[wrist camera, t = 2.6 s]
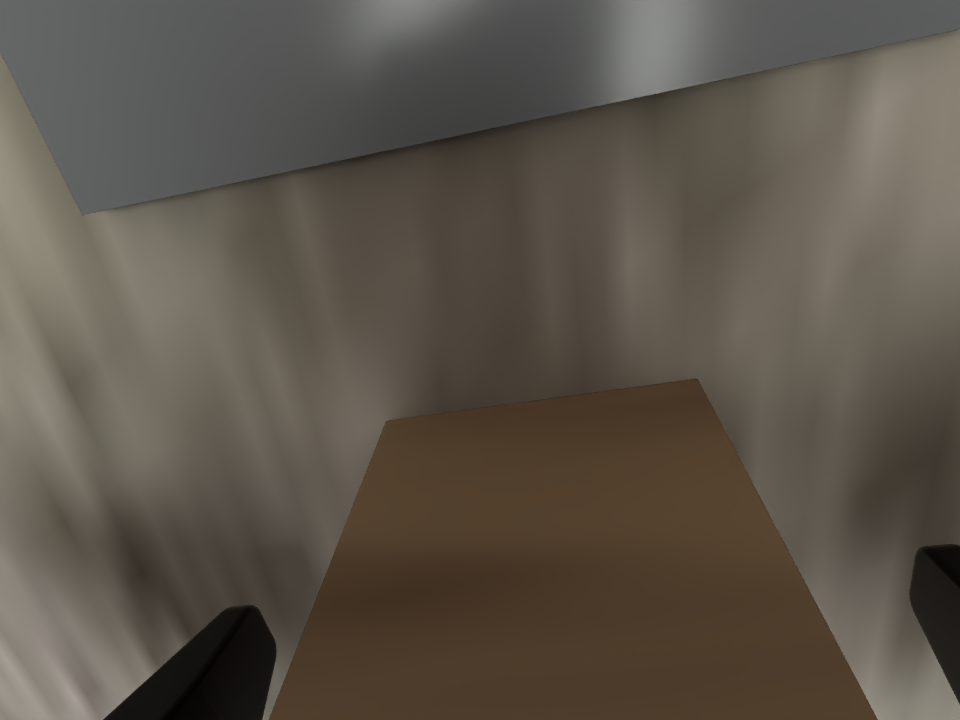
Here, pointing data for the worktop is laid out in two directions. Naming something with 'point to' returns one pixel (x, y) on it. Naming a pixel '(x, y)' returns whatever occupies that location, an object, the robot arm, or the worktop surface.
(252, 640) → the robot arm
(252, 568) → the worktop surface
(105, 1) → the slate coaster
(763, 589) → the walnut block
